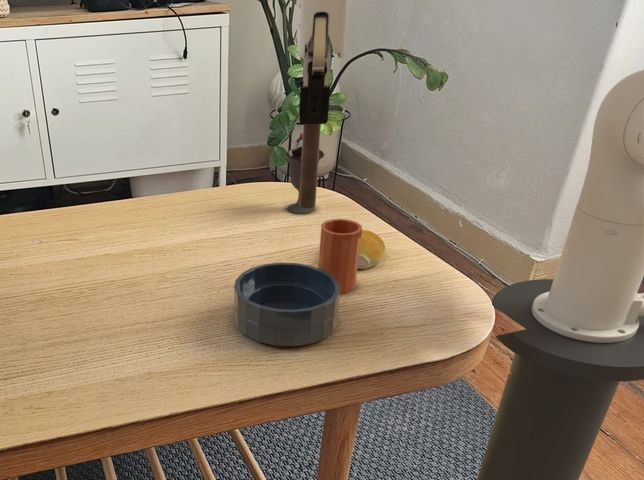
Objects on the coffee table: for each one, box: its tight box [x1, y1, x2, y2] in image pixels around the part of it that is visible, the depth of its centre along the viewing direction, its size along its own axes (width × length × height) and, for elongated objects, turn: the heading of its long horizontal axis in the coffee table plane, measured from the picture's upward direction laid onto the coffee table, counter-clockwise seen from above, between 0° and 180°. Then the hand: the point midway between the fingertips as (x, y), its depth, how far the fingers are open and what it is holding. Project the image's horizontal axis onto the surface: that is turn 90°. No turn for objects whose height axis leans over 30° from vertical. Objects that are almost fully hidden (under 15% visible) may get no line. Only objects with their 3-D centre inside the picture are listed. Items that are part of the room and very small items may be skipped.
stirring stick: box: [299, 79, 322, 208], centre depth 76 cm, size 2×2×16 cm
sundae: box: [284, 132, 325, 215], centre depth 113 cm, size 7×7×15 cm
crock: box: [317, 218, 363, 295], centre depth 90 cm, size 5×6×9 cm
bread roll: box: [357, 229, 386, 270], centre depth 99 cm, size 8×9×4 cm
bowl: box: [233, 262, 341, 347], centre depth 84 cm, size 13×13×6 cm
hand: (312, 119), depth 75 cm, fingers closed on stirring stick, 2 cm apart
